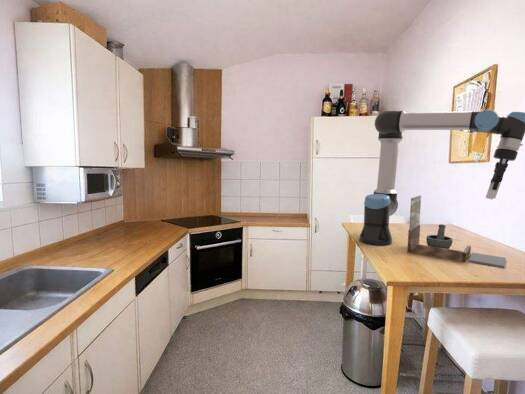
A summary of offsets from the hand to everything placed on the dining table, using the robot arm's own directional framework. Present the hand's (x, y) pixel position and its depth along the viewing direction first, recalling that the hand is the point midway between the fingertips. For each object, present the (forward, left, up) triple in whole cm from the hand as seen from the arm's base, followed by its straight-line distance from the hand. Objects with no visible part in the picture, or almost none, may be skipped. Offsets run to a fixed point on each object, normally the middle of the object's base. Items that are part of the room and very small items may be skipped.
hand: (489, 198), depth 127 cm
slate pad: (+1, -14, -24) cm, 28 cm away
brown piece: (-16, -14, -24) cm, 32 cm away
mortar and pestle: (-15, -14, -24) cm, 32 cm away
